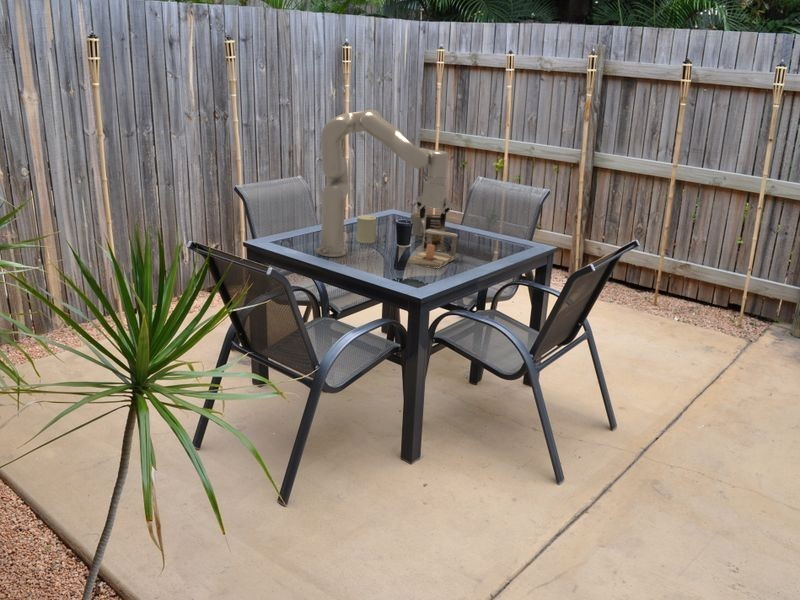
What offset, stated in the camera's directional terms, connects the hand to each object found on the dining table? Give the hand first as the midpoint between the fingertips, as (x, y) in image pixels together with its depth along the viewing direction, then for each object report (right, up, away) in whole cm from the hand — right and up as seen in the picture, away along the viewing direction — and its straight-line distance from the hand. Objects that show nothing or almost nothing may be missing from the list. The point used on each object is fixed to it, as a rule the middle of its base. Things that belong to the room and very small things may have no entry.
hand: (432, 220), depth 314 cm
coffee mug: (-4, -2, +52) cm, 52 cm away
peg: (-1, -18, +6) cm, 19 cm away
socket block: (0, -17, +9) cm, 19 cm away
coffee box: (+1, -11, +28) cm, 30 cm away
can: (-30, -7, +34) cm, 46 cm away
